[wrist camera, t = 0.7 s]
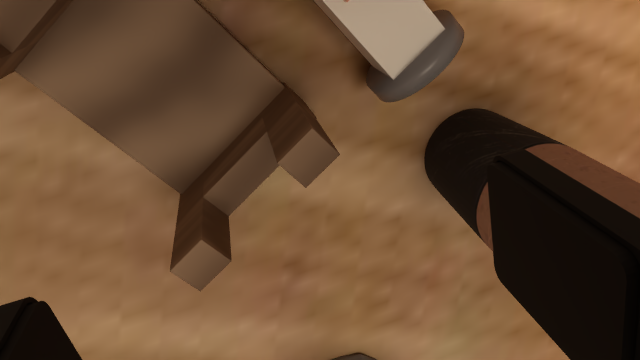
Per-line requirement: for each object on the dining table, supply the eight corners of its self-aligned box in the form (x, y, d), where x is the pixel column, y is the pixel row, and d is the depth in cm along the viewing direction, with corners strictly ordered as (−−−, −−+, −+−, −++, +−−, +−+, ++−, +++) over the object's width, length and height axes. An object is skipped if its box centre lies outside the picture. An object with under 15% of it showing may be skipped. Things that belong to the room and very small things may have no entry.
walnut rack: (-32, 31, 27) (-149, 64, 19) (84, -111, 26) (17, -151, 17) (214, 214, 35) (214, 300, 26) (315, 112, 33) (353, 166, 24)
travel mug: (423, 108, 35) (645, 260, 17) (520, 100, 36) (821, 233, 18) (417, 203, 38) (599, 416, 20) (506, 192, 39) (752, 383, 21)
